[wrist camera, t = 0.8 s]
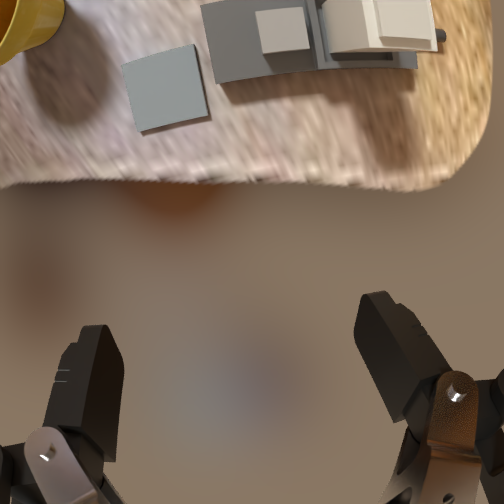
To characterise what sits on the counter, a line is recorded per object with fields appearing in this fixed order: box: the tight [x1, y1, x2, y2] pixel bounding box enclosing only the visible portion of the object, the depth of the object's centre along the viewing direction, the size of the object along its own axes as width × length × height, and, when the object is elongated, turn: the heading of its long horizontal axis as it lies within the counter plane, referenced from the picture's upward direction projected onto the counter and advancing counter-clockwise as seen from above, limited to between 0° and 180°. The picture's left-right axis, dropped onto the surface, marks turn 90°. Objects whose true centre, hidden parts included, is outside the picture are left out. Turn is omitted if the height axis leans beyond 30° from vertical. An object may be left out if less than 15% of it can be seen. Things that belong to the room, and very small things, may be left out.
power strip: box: [200, 0, 446, 84], centre depth 21 cm, size 7×22×4 cm, turn 99°
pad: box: [121, 44, 209, 132], centre depth 26 cm, size 7×7×1 cm
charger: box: [321, 0, 438, 53], centre depth 17 cm, size 4×4×11 cm
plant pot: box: [0, 0, 65, 66], centre depth 16 cm, size 10×10×10 cm
